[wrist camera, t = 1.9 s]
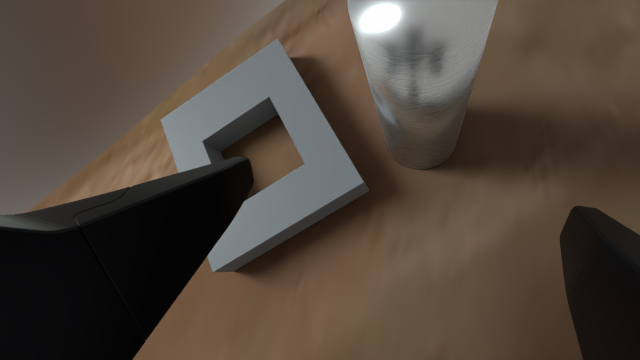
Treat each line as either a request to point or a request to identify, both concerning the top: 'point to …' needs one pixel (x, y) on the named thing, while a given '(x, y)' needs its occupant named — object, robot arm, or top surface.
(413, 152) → the steel peg
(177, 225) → the robot arm
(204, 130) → the socket plate
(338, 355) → the top surface
